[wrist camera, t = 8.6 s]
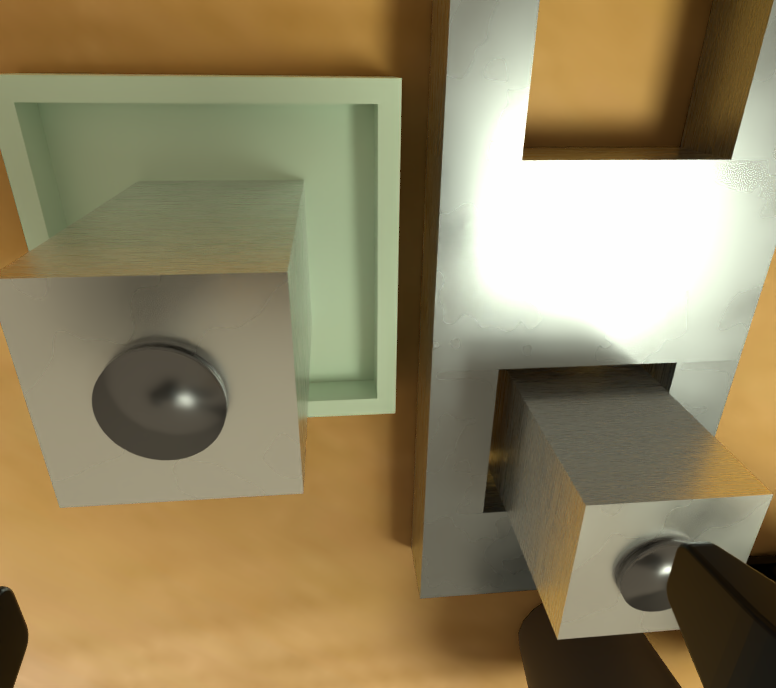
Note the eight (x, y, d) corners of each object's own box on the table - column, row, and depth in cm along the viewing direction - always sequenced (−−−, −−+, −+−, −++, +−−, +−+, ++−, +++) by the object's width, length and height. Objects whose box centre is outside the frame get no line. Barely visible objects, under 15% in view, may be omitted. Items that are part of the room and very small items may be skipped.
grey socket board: (638, 533, 25) (668, 579, 23) (411, 548, 24) (420, 598, 22) (865, -295, 13) (972, -366, 11) (445, -327, 12) (471, -411, 10)
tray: (389, 385, 20) (395, 413, 19) (98, 397, 19) (77, 427, 18) (394, 76, 16) (401, 78, 14) (16, 73, 15) (-21, 74, 13)
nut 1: (312, 325, 18) (303, 504, 11) (165, 330, 18) (53, 518, 11) (304, 179, 16) (286, 278, 9) (137, 181, 16) (-25, 285, 9)
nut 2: (596, 448, 23) (728, 635, 15) (483, 454, 22) (561, 649, 15) (618, 344, 21) (782, 502, 13) (494, 348, 20) (591, 514, 13)
